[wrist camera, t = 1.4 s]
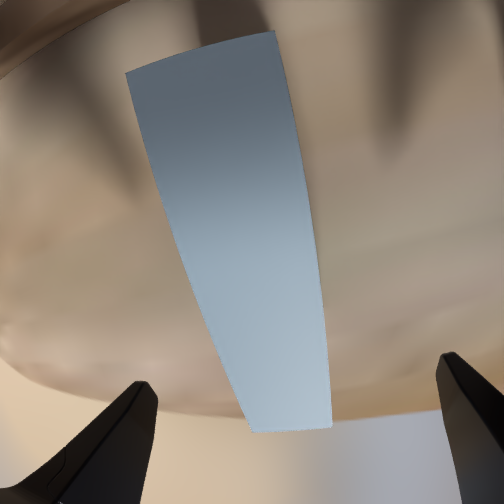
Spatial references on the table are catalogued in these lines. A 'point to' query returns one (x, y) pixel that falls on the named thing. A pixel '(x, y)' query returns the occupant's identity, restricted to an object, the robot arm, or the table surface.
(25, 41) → the notched wooden post
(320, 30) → the table surface
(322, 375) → the notched blue slab
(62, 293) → the table surface
